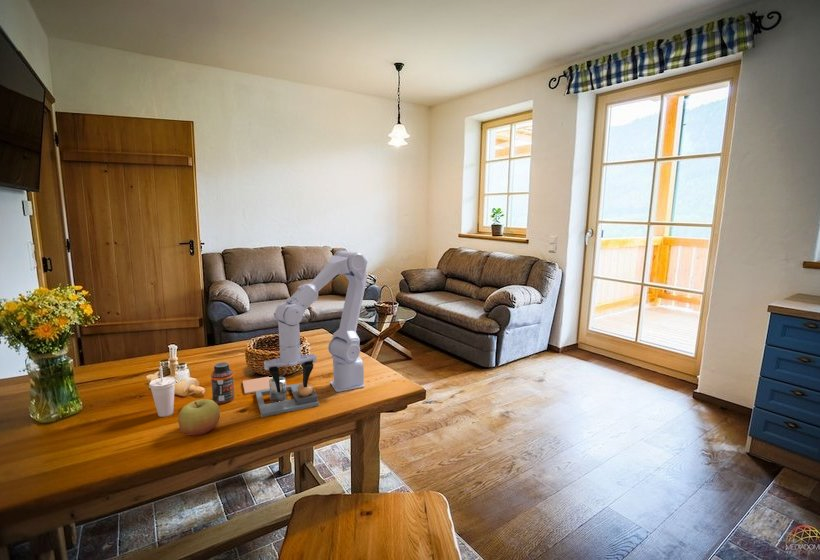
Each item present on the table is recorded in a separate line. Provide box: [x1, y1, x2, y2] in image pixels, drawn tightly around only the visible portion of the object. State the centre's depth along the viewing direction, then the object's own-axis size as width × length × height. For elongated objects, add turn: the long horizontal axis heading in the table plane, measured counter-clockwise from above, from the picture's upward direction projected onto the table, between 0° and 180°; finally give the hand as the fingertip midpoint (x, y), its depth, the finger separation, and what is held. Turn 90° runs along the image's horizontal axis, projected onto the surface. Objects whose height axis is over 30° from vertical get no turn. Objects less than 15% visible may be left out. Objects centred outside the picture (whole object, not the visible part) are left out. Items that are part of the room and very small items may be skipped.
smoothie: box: [148, 366, 177, 418], centre depth 113 cm, size 6×6×14 cm
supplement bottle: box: [210, 362, 235, 405], centre depth 122 cm, size 6×6×11 cm
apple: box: [177, 398, 221, 436], centre depth 105 cm, size 10×10×8 cm
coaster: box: [242, 376, 273, 395], centre depth 133 cm, size 10×10×1 cm
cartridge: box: [269, 376, 288, 403], centre depth 123 cm, size 5×5×7 cm
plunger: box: [297, 382, 314, 397], centre depth 121 cm, size 4×4×4 cm
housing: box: [254, 382, 320, 418], centre depth 123 cm, size 16×16×3 cm
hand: (292, 388), depth 119 cm, fingers open, 7 cm apart
